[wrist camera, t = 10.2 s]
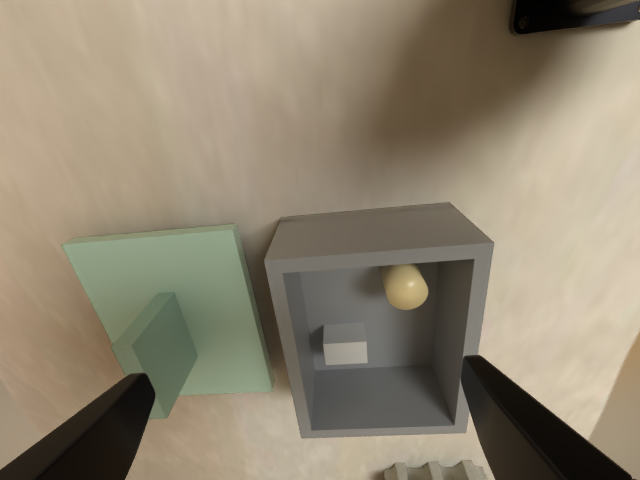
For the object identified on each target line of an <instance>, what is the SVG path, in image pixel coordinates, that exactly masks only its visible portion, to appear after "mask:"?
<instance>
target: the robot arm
mask: <svg viewBox="0 0 640 480" xmlns="http://www.w3.org/2000/svg"><path fill="white" fill-rule="evenodd" d="M639 4H640V0H513V1H512V9H511V16H510V24H509V29H510V32H511V34H513V35H514V36H521V35H529V34H537V33H545V32H553V31H561V30H568V29H576V28H584V27H592V26H600V25H608V24H615V23H623V22H631V21H636V20H640V12H638V7H639ZM521 18H523V19H524V20H525V25H524V27H523V28H520V27H519V21H520V19H521ZM461 385H462V388H463V391H464V395H465V398H466V401H467V404H468V407H469V410H470V413H471V416H472V420H473V423H474V426H475V429H476V432H477V435H478V438H479V441H480V444H481V447H482V449H483V452H484V454H485V457H486V459H487V461H488V464H489V466H490V468H491V471H492V473H493V475H494V478H495V480H636V479H632V477H631V475H630V474H629V473H628V472H626V471H625V470H624V469H623V468H621V467H620V466H619V465H617V464H616V463H615V462H614V461H613V460H611V459H610V458H609V457H607V456H606V455H605V454H604V453H602V452H601V451H600V450H599V449H597V448H596V447H595V446H594V445H592V444H591V443H590V442H589V441H587V440H586V439H585V438H584V437H582V436H581V435H580V434H579V433H577V432H576V431H575V430H574V429H572V428H571V427H570V426H569V425H567V424H566V423H565V422H564V421H562V420H561V419H560V418H559V417H557V416H556V415H555V414H554V413H552V412H551V411H550V410H549V409H547V408H546V407H545V406H544V405H542V404H541V403H540V402H538V401H537V400H536V399H535V398H533V397H532V396H531V395H530V394H528V393H527V392H526V391H525V390H523V389H522V388H521V387H520V386H518V385H517V384H516V383H515V382H513V381H512V380H511V379H510V378H508V377H507V376H506V375H505V374H503V373H502V372H501V371H500V370H498V369H497V368H496V367H495V366H493V365H492V364H491V363H490V362H488V361H487V360H486V359H485V358H483V357H482V356H480V355H466V356H464V357H463V361H462V369H461ZM155 397H156V393H155V390H154V387H153V385H152V383H151V381H150V379H149V377H148V375H147V374H146V373H131V374H129V375H127V376H126V377H125V378H123V379H122V380H121V381H119V382H118V383H117V384H115V385H114V386H113V387H111V388H110V389H109V390H107V391H106V392H104V393H103V394H102V395H100V396H99V397H98V398H96V399H95V400H94V401H92V402H91V403H90V404H88V405H87V406H86V407H84V408H83V409H82V410H80V411H79V412H78V413H76V414H75V415H74V416H72V417H71V418H69V419H68V420H67V421H65V422H64V423H63V424H61V425H60V426H59V427H57V428H56V429H55V430H53V431H52V432H51V433H49V434H48V435H47V436H45V437H44V438H43V439H41V440H40V441H39V442H37V443H36V444H35V445H33V446H32V447H30V448H29V449H28V450H26V451H25V452H24V453H22V454H21V455H20V456H18V457H17V458H16V459H14V460H13V461H12V462H10V463H9V464H7V465H6V466H5V467H3V468H2V469H1V470H0V480H125V478H126V476H127V474H128V472H129V469H130V467H131V465H132V462H133V460H134V458H135V455H136V453H137V450H138V447H139V444H140V442H141V439H142V436H143V433H144V430H145V427H146V424H147V422H148V419H149V416H150V413H151V410H152V407H153V404H154V402H155Z"/></svg>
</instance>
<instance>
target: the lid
mask: <svg viewBox="0 0 640 480" xmlns="http://www.w3.org/2000/svg"><path fill="white" fill-rule="evenodd" d="M61 246H62V247H63V249H64V251H65V253H66V255H67V257H68V259H69V261H70V263H71V265H72V267H73V269H74V271H75V273H76V275H77V277H78V278H79V280H80V282H81V284H82V286H83V288H84V290H85V292H86V294H87V296H88V298H89V300H90V302H91V304H92V306H93V308H94V309H95V311H96V313H97V315H98V317H99V319H100V321H101V323H102V325H103V327H104V329H105V331H106V333H107V335H108V337H109V338H110V340H111V342H112V344H113V345H112V346H111V349H112V350H113V352H114V354H115V356H116V358H117V360H118V362H119V364H120V366H121V368H122V370H123V372H124V373H125V375H126V376H127V375H129V374H131V373H146V374H147V375H148V377H149V379H150V381H151V383H152V385H153V387H154V390H155V393H156V397H155V402H154V404H153V407H152V410H151V413H150V416H149V419H165V418H167V417H168V415H169V413H170V411H171V409H172V407H173V405H174V403H175V401H176V399H177V397H178V396H185V395H207V394H229V393H250V392H272V391H273V387H274V382H275V380H274V376H273V372H272V368H271V363H270V359H269V355H268V351H267V347H266V342H265V338H264V334H263V330H262V326H261V322H260V317H259V313H258V309H257V305H256V301H255V296H254V292H253V288H252V284H251V280H250V276H249V271H248V267H247V263H246V259H245V255H244V250H243V246H242V242H241V238H240V234H239V230H238V225H237V224H228V225H217V226H206V227H194V228H183V229H172V230H161V231H150V232H138V233H127V234H116V235H105V236H94V237H82V238H73V239H71V240H69V241H67V242H65V243H64V244H62V245H61Z"/></svg>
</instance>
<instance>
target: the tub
mask: <svg viewBox="0 0 640 480" xmlns="http://www.w3.org/2000/svg"><path fill="white" fill-rule="evenodd" d="M493 247H494V242H493V241H492V240H491V239H490V238H489V237H487V236H486V235H485V234H484V233H483V232H482V231H481V230H480V229H479V228H477V227H476V226H475V225H474V224H473V223H472V222H471V221H470V220H469V219H467V218H466V217H465V216H464V215H463V214H462V213H461V212H460V211H459V210H457V209H456V208H455V207H454V206H453V205H452V204H451V203H450V202H447V203H436V204H425V205H414V206H402V207H391V208H380V209H369V210H357V211H346V212H335V213H324V214H313V215H301V216H290V217H282V218H281V220H280V223H279V225H278V227H277V230H276V232H275V235H274V237H273V240H272V242H271V245H270V247H269V249H268V252H267V254H266V257H265V259H264V264H265V268H266V273H267V278H268V283H269V287H270V292H271V297H272V302H273V306H274V311H275V316H276V321H277V325H278V330H279V335H280V340H281V344H282V349H283V354H284V359H285V363H286V368H287V373H288V378H289V382H290V387H291V392H292V397H293V402H294V406H295V411H296V416H297V421H298V425H299V430H300V435H301V438H331V437H361V436H391V435H421V434H451V433H466V430H467V424H468V417H469V407H468V404H467V401H466V398H465V395H464V391H463V388H462V385H461V369H462V361H463V357H464V356H466V355H478V349H479V342H480V335H481V329H482V322H483V315H484V308H485V301H486V295H487V288H488V281H489V274H490V267H491V261H492V254H493Z"/></svg>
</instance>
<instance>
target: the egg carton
mask: <svg viewBox="0 0 640 480" xmlns="http://www.w3.org/2000/svg"><path fill="white" fill-rule="evenodd" d="M384 478H385V480H488V479H487V477H486V475H485V472H484V470H483V467H480V466H476V465H474V464H473V462H472V460H463V461H461V463H460V464H459V465H457V466H455V467H451V468H447V467H442V466H441V465H440V464H439V463H438V461H431V462H428V463H427V464H426V465H425V466H424V467H422V468H418V469H413V468H409V467H407V466H406V465H405V463H395V464H394V466H393V467H392V468H390V469H387V470H385V471H384Z"/></svg>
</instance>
